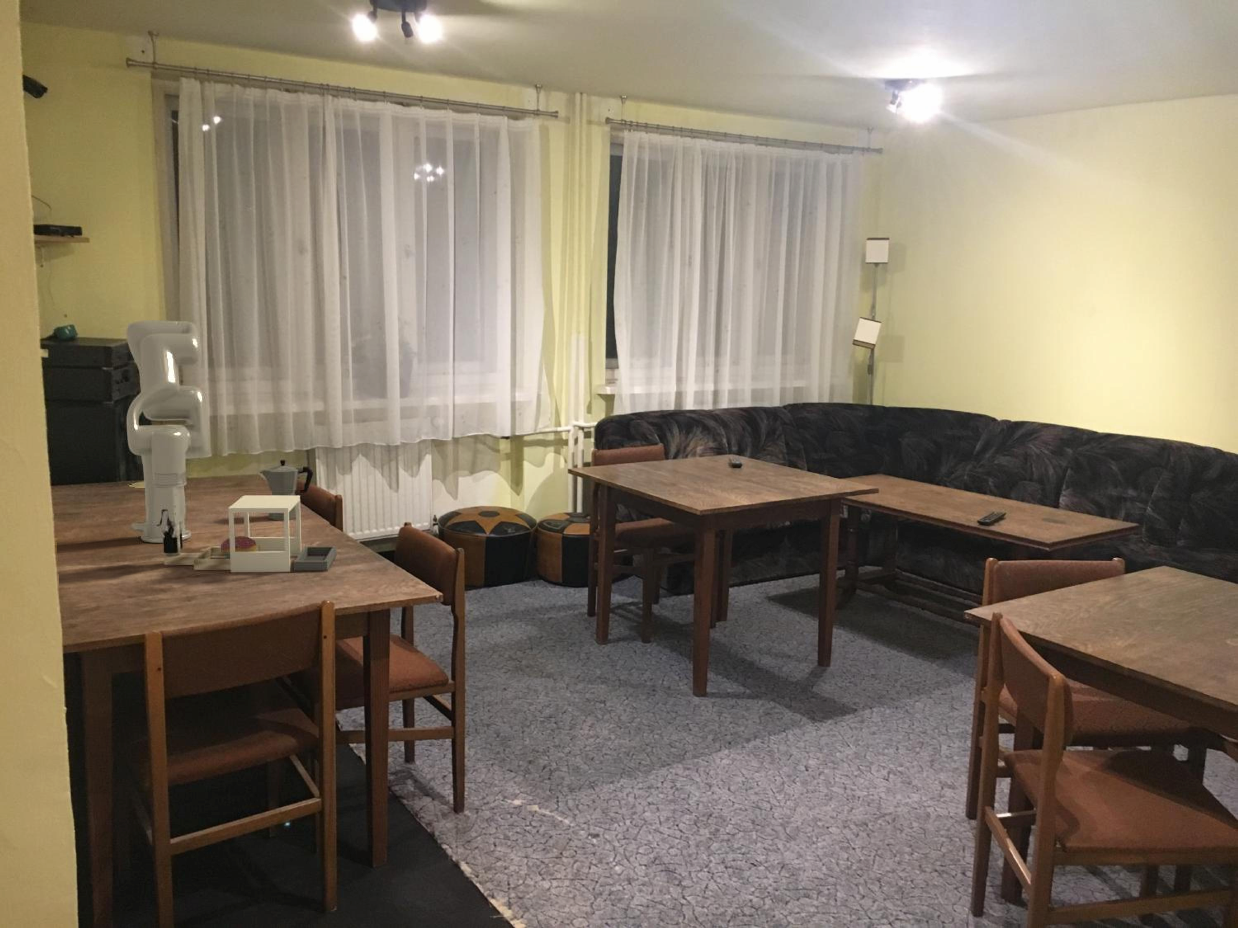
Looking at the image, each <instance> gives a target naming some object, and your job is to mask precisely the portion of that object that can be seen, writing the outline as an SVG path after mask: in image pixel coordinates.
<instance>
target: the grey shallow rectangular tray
mask: <svg viewBox="0 0 1238 928" xmlns="http://www.w3.org/2000/svg"><path fill="white" fill-rule="evenodd" d="M336 557H337V546H336V545H325V546H323V545H321V546H320V545H319V546H317V545H312V546H308V545H307V546H305V545H304V547H303V549H301V553H300V554H299V555H298V556H296V558H295V560H294V561H293V572H328V571H329V569H330V567H331V566H332V564H333V562H334V560H335V558H336Z"/></svg>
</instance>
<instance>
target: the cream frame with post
mask: <svg viewBox="0 0 1238 928" xmlns="http://www.w3.org/2000/svg"><path fill="white" fill-rule="evenodd" d="M168 525H171V523H168ZM169 529H171V530H172V528H169ZM176 537H177V542H178V552H177V553H165V554H166V555H165V556H164V558H163V559H164V566H193V570H194V571H195V570H196V571H197V570H198V571H199V570H201V571H202V570H203V571H205V570H206V571H208V570H209V571H210V570H212V571H213V570H218V571H219V570H221V571H222V570H224V571H225V570H231V560H230V559H227V558H217V557H226V555H225V554H224V553H223V552H221V545H219V546H218V545H216V546H215V545H214V546H213V545H211V546H208V547H206V548H205V549H204V550H203V551H202V552H181V549H180V532H179V523H178V524H177V525H176ZM255 552H260V547H259V546H257V550H255ZM212 557H214V558H212ZM215 557H216V558H215Z"/></svg>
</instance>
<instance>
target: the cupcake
mask: <svg viewBox="0 0 1238 928" xmlns="http://www.w3.org/2000/svg"><path fill="white" fill-rule="evenodd" d="M220 546H221V552H223V553H224V554H225V555H226V556H225V559H230V537H229V538H227V539H225V540H224V541H223V542H222V543H221V544H220ZM255 550H257V544H256V543H255V541H254V540H252V539H251V538H249V537H245V535H243V536H241V535H238V536H236V535H235V552H255Z"/></svg>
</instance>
